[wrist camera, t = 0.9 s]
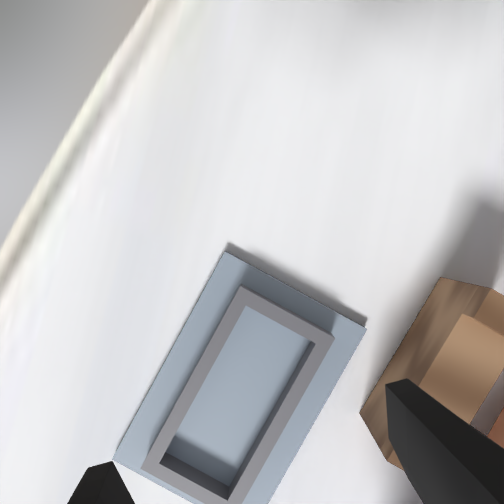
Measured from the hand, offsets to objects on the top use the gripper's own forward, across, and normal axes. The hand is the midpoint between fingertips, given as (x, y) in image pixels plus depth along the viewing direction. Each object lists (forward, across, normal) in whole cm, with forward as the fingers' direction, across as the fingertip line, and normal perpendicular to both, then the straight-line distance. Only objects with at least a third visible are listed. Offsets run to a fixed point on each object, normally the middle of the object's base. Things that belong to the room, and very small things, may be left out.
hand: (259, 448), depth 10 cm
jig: (+15, +1, +12) cm, 19 cm away
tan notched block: (+14, -13, +13) cm, 23 cm away
